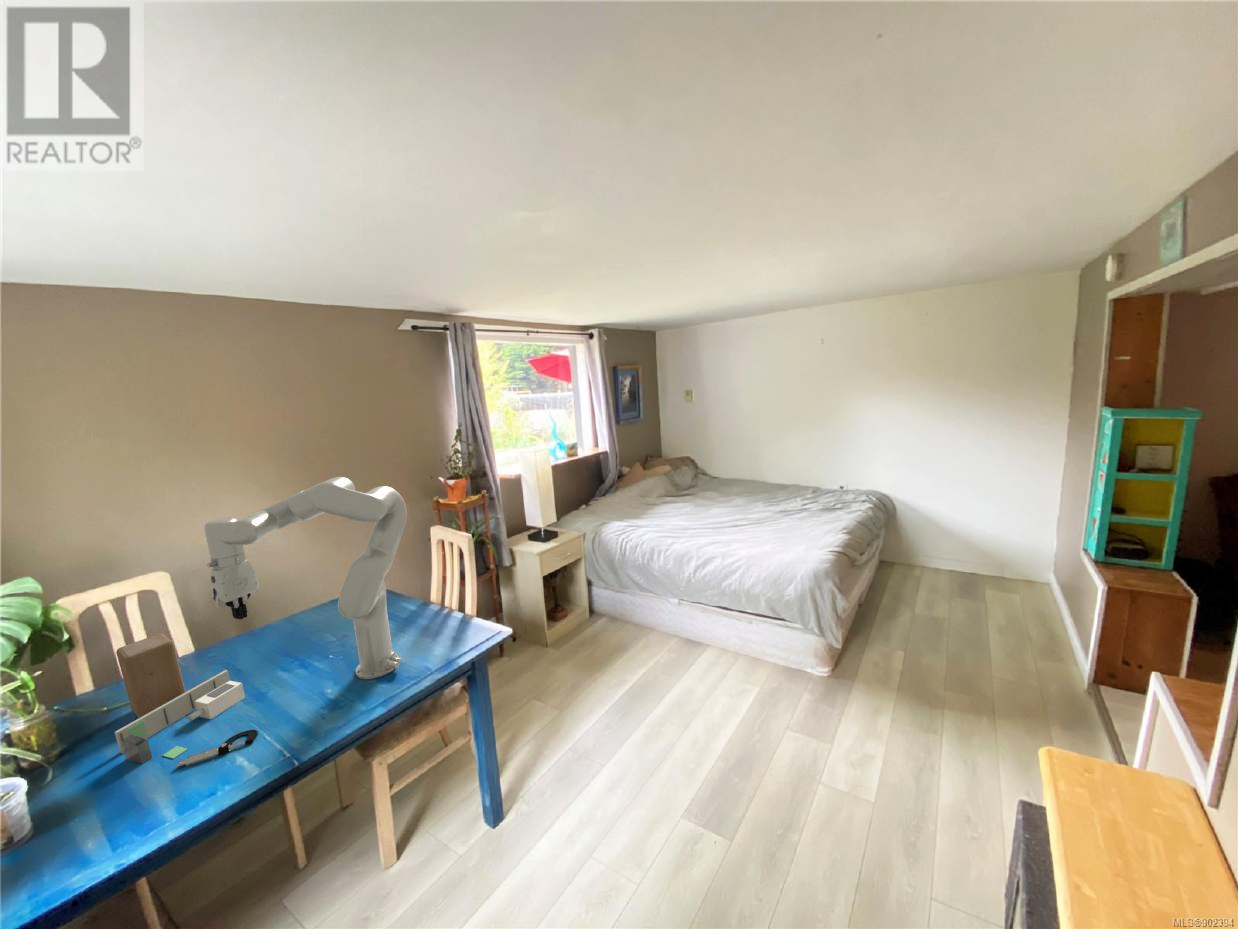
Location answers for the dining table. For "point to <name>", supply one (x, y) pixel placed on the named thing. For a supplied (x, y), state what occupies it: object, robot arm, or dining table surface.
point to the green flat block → (175, 752)
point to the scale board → (170, 711)
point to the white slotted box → (218, 700)
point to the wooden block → (150, 673)
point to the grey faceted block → (136, 749)
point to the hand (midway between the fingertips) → (240, 617)
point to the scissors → (220, 748)
